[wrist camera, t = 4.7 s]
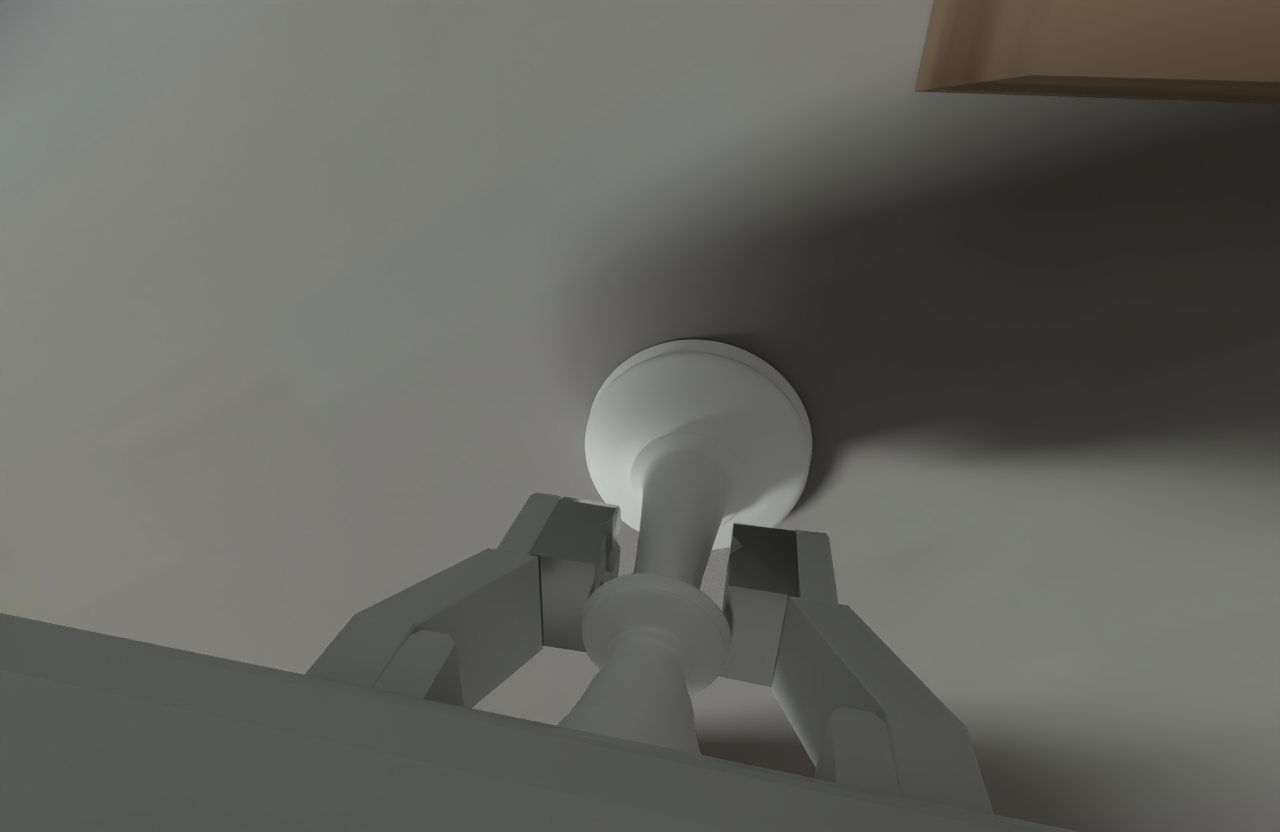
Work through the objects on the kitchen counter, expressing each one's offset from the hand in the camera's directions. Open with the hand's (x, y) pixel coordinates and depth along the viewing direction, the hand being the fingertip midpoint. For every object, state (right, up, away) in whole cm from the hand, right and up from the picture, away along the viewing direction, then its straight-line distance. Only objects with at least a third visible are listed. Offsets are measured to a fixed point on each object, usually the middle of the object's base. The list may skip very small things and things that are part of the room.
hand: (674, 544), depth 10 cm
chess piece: (+1, +2, +3) cm, 4 cm away
